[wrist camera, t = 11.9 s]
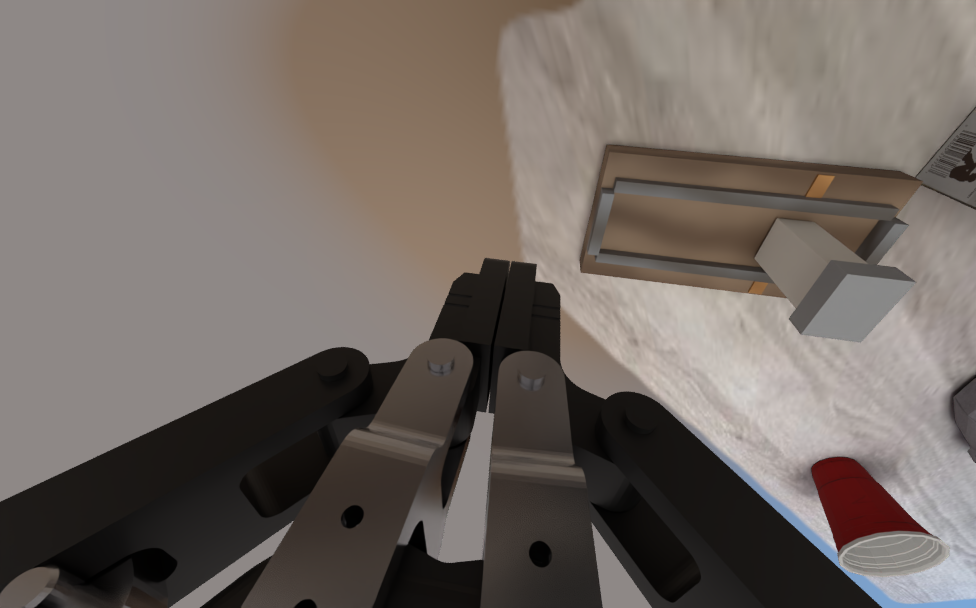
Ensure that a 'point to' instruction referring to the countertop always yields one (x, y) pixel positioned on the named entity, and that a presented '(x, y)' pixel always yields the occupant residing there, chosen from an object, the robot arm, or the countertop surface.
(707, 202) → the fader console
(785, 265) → the fader tab
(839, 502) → the plastic cup
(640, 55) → the countertop surface
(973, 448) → the grey first aid kit
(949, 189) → the grey brown upright box
